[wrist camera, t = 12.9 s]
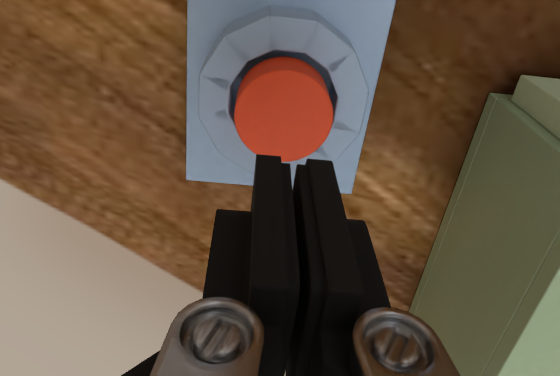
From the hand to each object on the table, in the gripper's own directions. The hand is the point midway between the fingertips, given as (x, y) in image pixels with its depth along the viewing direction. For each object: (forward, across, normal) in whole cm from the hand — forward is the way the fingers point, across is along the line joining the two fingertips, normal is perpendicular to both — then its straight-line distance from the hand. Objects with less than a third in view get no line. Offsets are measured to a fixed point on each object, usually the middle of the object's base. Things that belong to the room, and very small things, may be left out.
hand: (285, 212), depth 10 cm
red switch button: (+8, 0, +1) cm, 9 cm away
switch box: (+12, 0, +1) cm, 12 cm away
